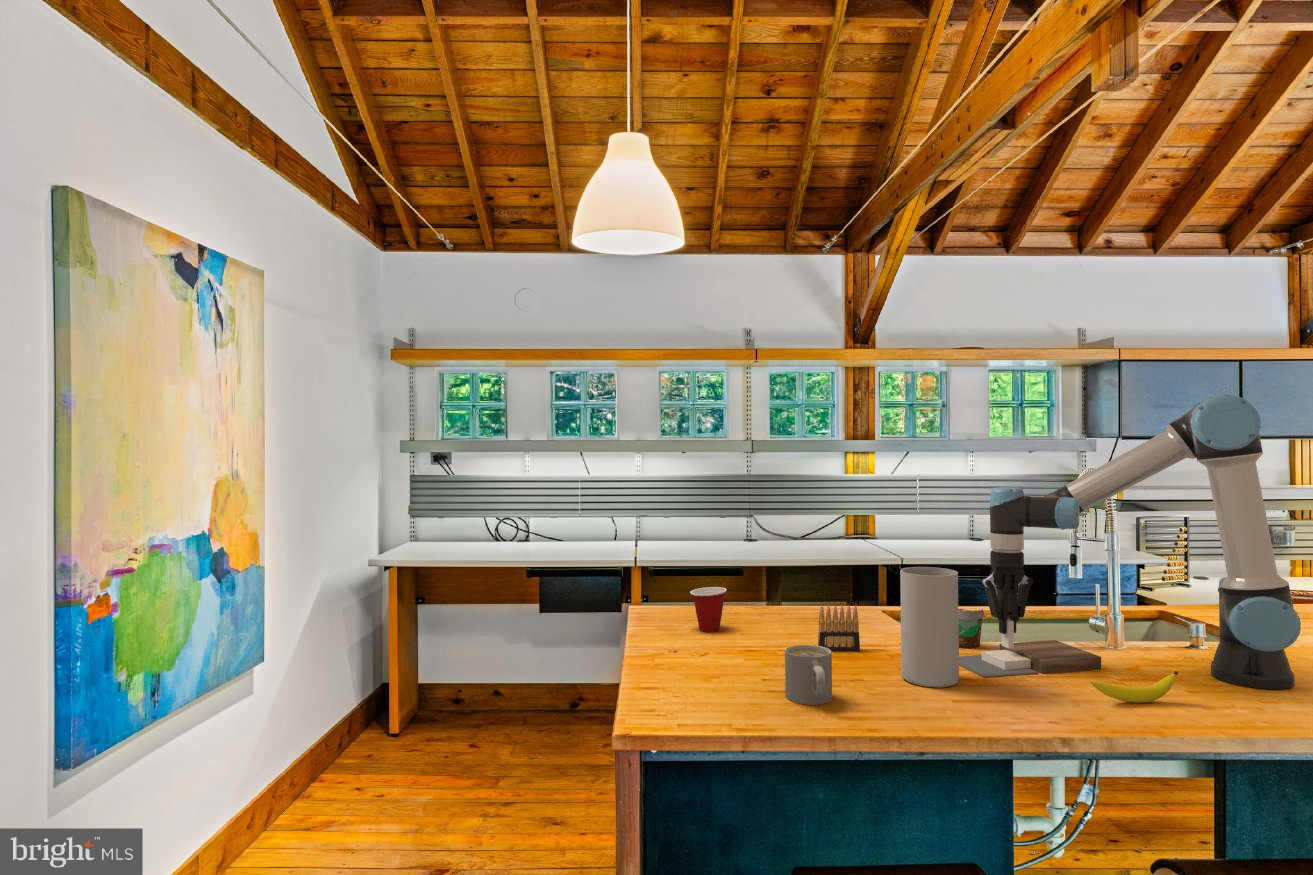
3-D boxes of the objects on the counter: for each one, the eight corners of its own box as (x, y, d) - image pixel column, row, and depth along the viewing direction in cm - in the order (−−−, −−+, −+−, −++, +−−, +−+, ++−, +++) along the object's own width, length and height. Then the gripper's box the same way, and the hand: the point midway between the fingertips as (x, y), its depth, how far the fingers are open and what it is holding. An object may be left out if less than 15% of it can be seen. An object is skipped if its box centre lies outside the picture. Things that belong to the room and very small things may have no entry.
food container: (933, 646, 206) (933, 609, 207) (937, 641, 212) (936, 604, 212) (983, 651, 201) (983, 613, 201) (985, 646, 206) (985, 608, 206)
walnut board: (1101, 669, 185) (1101, 656, 185) (1041, 673, 182) (1041, 660, 182) (1055, 651, 200) (1055, 640, 200) (999, 655, 197) (999, 643, 197)
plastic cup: (689, 625, 232) (689, 585, 232) (725, 625, 232) (725, 585, 232) (690, 634, 221) (690, 592, 222) (728, 634, 221) (728, 592, 221)
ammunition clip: (858, 649, 204) (858, 604, 204) (860, 651, 202) (859, 605, 202) (817, 649, 204) (817, 604, 205) (819, 651, 203) (818, 605, 203)
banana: (1085, 701, 162) (1085, 671, 162) (1172, 699, 163) (1172, 669, 163) (1094, 706, 159) (1093, 675, 159) (1182, 704, 160) (1182, 673, 160)
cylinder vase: (922, 690, 170) (921, 577, 170) (890, 674, 182) (889, 568, 182) (971, 685, 173) (969, 574, 173) (936, 670, 185) (935, 565, 185)
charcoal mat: (1037, 673, 181) (1037, 672, 181) (983, 677, 179) (983, 675, 179) (996, 655, 197) (996, 653, 197) (945, 658, 195) (945, 657, 195)
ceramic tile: (1030, 667, 185) (1030, 659, 185) (1004, 669, 184) (1004, 661, 184) (1006, 657, 194) (1006, 649, 194) (981, 659, 192) (981, 651, 192)
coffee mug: (782, 689, 172) (782, 644, 172) (828, 689, 171) (827, 644, 171) (790, 710, 159) (789, 661, 159) (838, 710, 158) (838, 661, 158)
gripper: (1021, 547, 194) (1021, 641, 194) (973, 549, 192) (974, 644, 192) (1040, 551, 187) (1041, 649, 187) (992, 553, 184) (992, 652, 184)
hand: (1007, 646), depth 189 cm, fingers closed
